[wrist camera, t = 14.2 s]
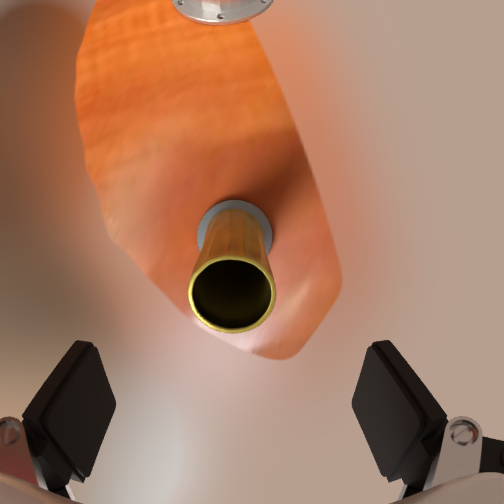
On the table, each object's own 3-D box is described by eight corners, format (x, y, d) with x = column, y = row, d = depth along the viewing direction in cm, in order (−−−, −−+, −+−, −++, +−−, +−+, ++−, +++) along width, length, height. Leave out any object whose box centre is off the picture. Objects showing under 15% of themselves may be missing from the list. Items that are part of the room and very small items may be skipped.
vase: (199, 214, 29) (167, 257, 15) (257, 203, 29) (276, 237, 15) (212, 268, 31) (195, 346, 17) (267, 258, 31) (290, 330, 17)
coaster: (197, 200, 30) (196, 200, 29) (272, 199, 30) (273, 200, 29) (199, 271, 32) (198, 273, 31) (270, 271, 32) (271, 273, 31)
